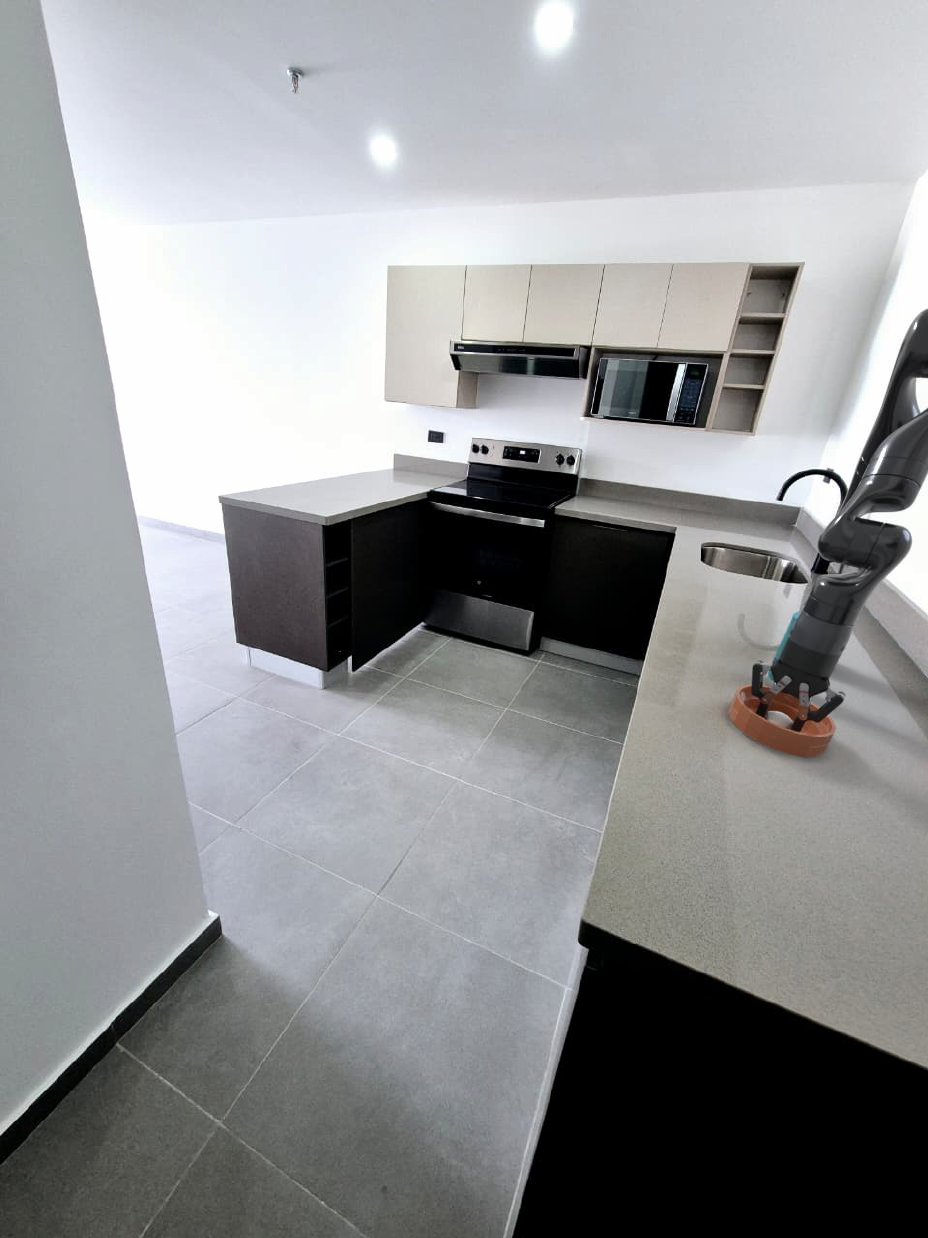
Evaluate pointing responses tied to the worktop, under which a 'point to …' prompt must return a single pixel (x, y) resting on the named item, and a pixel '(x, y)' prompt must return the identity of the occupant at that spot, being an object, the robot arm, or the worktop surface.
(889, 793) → the worktop surface
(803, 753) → the bowl
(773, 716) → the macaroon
